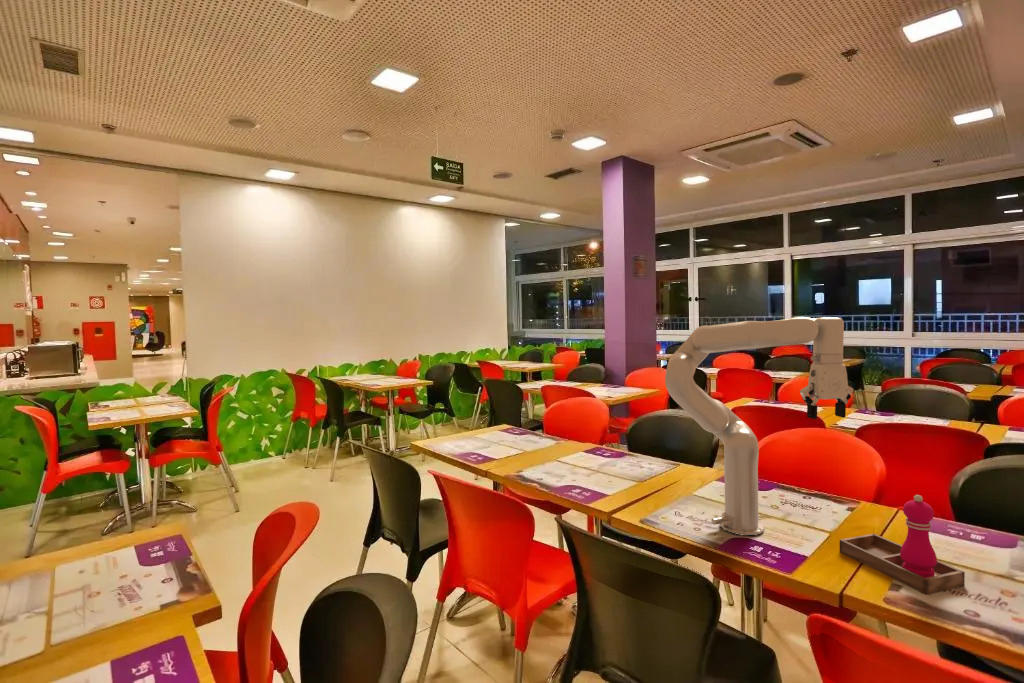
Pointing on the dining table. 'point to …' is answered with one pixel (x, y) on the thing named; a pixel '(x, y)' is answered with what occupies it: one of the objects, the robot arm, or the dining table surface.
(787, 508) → the dining table surface
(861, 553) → the caddy
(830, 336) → the robot arm
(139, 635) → the dining table surface
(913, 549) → the pepper mill
